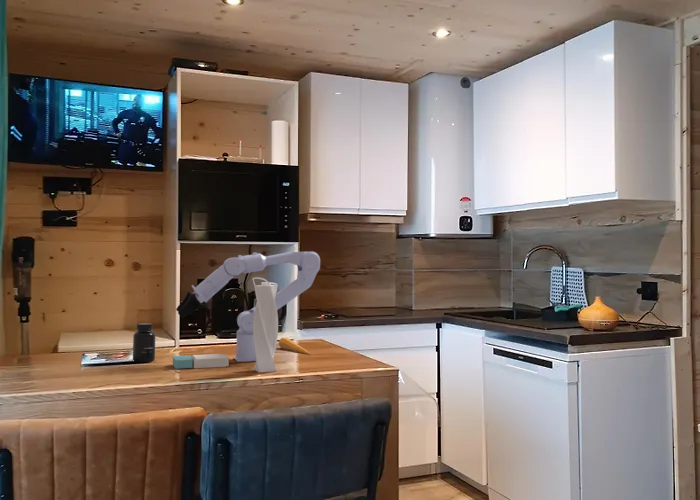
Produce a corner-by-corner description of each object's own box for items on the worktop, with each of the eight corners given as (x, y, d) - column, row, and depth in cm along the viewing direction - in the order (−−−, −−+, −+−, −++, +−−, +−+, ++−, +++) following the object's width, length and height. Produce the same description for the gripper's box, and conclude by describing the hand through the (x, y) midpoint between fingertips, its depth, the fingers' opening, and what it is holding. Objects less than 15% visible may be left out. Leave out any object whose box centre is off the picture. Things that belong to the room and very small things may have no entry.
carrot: (278, 350, 231) (275, 339, 229) (288, 344, 233) (285, 334, 232) (308, 363, 215) (305, 352, 214) (318, 357, 217) (315, 346, 216)
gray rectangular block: (224, 362, 200) (224, 353, 200) (228, 366, 192) (228, 357, 192) (190, 363, 196) (191, 354, 196) (194, 368, 188) (194, 359, 188)
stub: (189, 363, 196) (189, 355, 196) (192, 367, 188) (192, 359, 188) (172, 364, 194) (172, 356, 194) (175, 368, 186) (175, 360, 186)
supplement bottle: (148, 363, 196) (148, 325, 196) (128, 362, 198) (128, 324, 198) (159, 359, 203) (159, 323, 203) (139, 358, 204) (140, 322, 204)
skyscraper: (255, 373, 181) (256, 277, 181) (247, 369, 187) (248, 276, 188) (281, 371, 185) (282, 277, 185) (272, 367, 191) (273, 276, 191)
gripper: (201, 273, 207) (169, 301, 204) (206, 278, 193) (172, 307, 190) (215, 289, 209) (183, 316, 206) (221, 294, 195) (187, 324, 192)
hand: (179, 313), depth 198 cm, fingers open, 7 cm apart
